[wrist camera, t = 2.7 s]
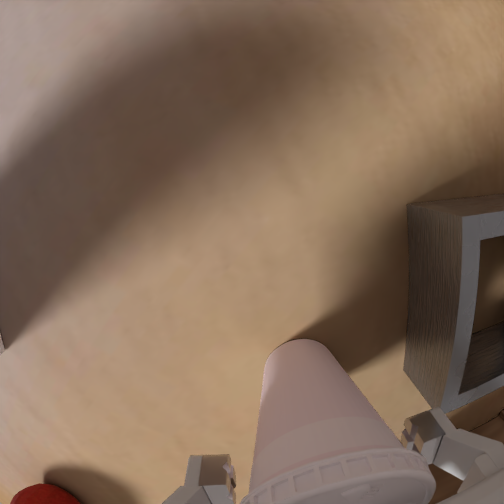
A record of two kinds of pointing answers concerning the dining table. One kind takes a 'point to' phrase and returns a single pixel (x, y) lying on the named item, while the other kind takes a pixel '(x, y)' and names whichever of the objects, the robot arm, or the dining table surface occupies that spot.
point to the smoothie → (327, 438)
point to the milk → (1, 345)
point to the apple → (44, 495)
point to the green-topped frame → (449, 484)
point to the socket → (451, 301)
